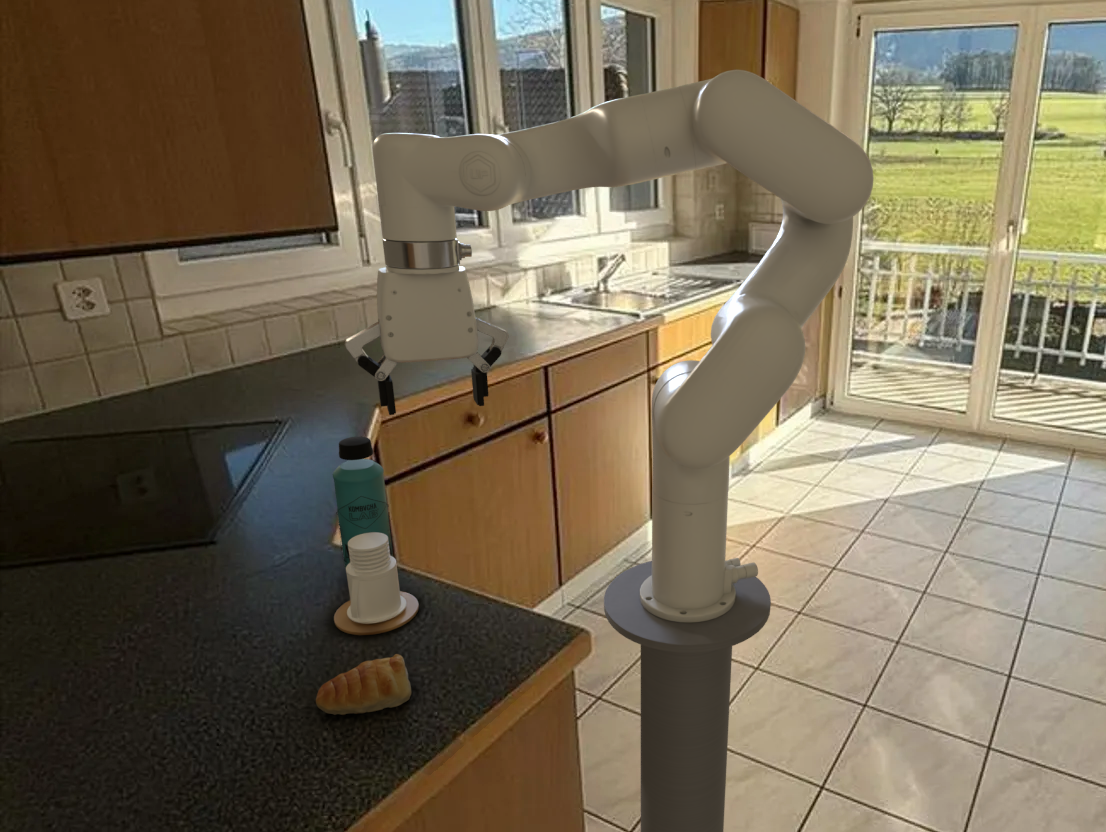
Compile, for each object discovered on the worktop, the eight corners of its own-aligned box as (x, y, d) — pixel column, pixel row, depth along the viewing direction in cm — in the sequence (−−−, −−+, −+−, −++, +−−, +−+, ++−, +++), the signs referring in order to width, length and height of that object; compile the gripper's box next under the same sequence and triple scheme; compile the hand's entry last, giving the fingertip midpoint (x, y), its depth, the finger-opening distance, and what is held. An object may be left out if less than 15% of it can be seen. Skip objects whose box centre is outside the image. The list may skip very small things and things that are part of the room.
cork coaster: (414, 586, 107) (413, 584, 107) (423, 624, 99) (422, 621, 99) (333, 602, 103) (332, 599, 103) (335, 642, 95) (335, 639, 94)
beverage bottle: (338, 572, 110) (318, 438, 103) (386, 557, 114) (370, 428, 108) (355, 590, 106) (335, 452, 99) (404, 575, 110) (388, 441, 103)
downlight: (374, 590, 105) (365, 523, 102) (420, 599, 104) (412, 531, 100) (332, 621, 98) (320, 550, 94) (380, 632, 96) (370, 559, 93)
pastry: (320, 730, 80) (315, 699, 79) (315, 693, 86) (309, 663, 85) (416, 702, 85) (412, 673, 84) (405, 669, 90) (401, 640, 89)
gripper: (496, 250, 92) (505, 391, 98) (332, 253, 84) (352, 405, 90) (510, 258, 85) (518, 408, 91) (334, 262, 78) (356, 425, 84)
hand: (436, 407), depth 91 cm, fingers open, 9 cm apart
